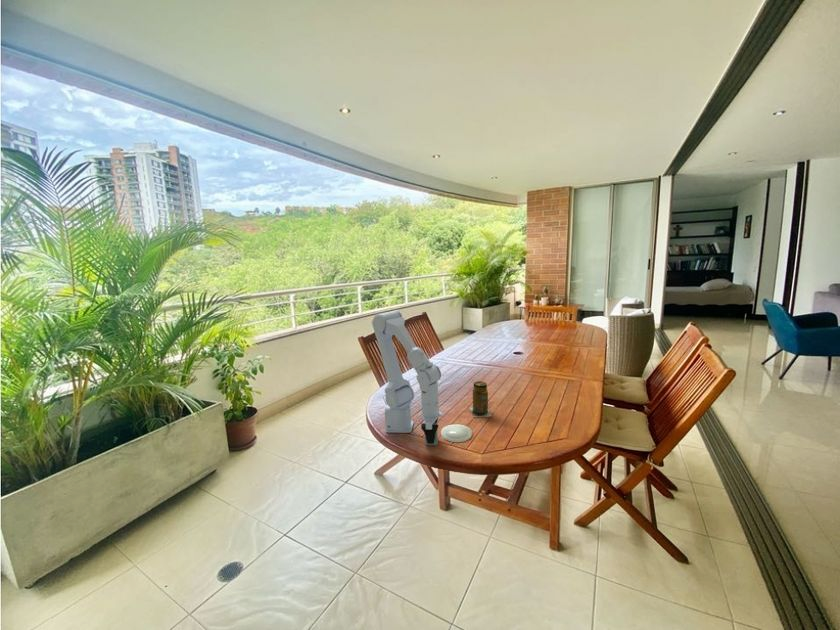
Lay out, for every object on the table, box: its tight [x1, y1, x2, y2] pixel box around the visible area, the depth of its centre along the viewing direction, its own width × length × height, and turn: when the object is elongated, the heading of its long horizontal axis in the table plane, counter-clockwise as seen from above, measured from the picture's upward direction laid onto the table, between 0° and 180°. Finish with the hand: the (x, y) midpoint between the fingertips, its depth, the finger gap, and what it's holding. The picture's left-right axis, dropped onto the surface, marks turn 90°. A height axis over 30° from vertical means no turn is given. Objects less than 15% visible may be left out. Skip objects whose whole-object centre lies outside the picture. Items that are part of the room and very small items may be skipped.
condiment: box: [469, 380, 493, 418], centre depth 135 cm, size 7×8×12 cm
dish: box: [440, 423, 473, 443], centre depth 122 cm, size 11×11×1 cm
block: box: [424, 422, 439, 446], centre depth 117 cm, size 4×4×6 cm
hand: (431, 437), depth 117 cm, fingers open, 6 cm apart
